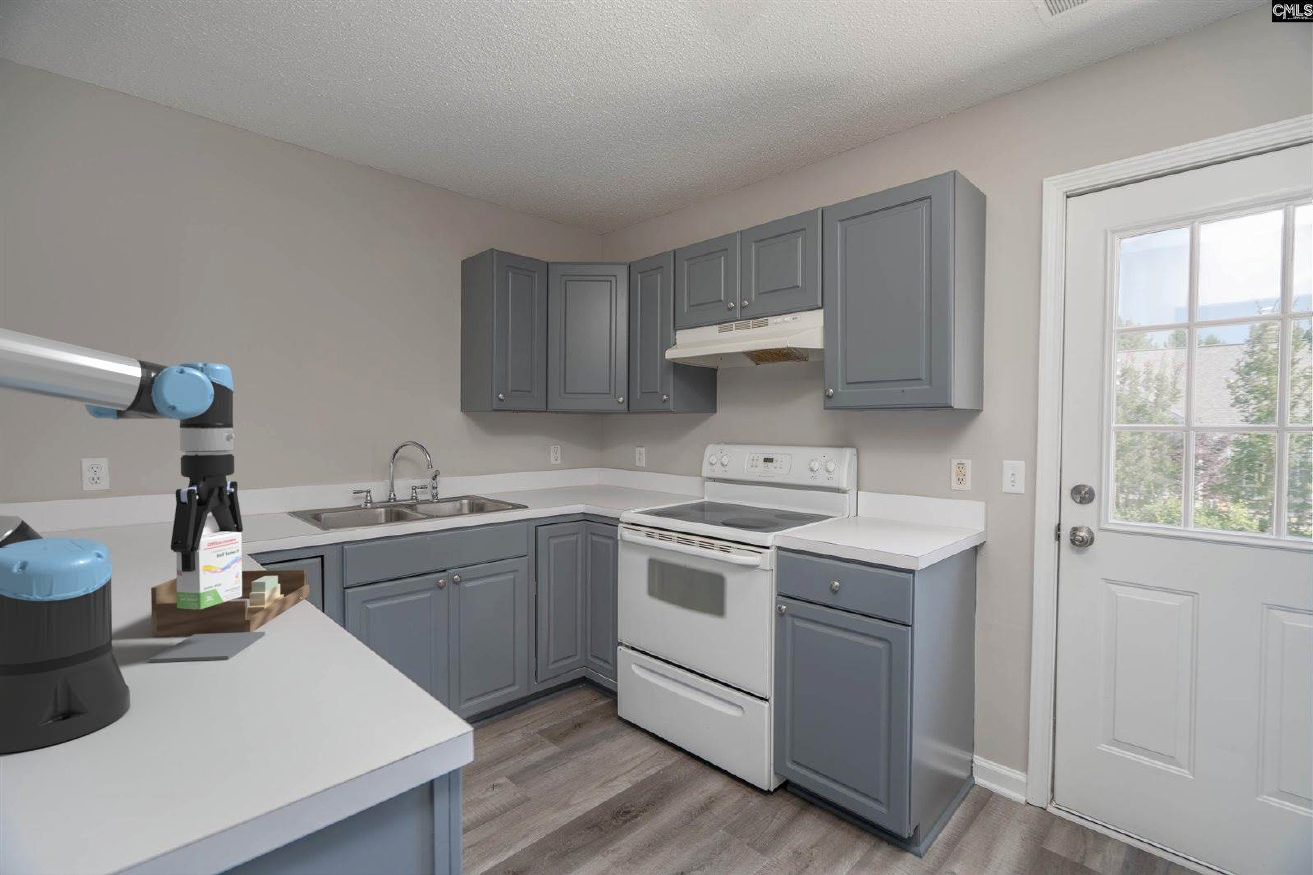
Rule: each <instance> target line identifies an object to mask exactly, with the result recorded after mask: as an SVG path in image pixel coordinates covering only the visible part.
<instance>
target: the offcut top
mask: <svg viewBox="0 0 1313 875" xmlns="http://www.w3.org/2000/svg"><path fill="white" fill-rule="evenodd" d="M277 585H278V576H264V577H262V578H259V579H257V580H255V581H253V582H252V592H266V591H268V590H270V589H272V588H274V587H276V586H277Z"/></svg>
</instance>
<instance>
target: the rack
mask: <svg viewBox="0 0 1313 875" xmlns="http://www.w3.org/2000/svg"><path fill="white" fill-rule="evenodd" d="M306 574H307V570H306V569H305V568H304V569H303V568H301V569H300V568H299V569H267V570H266V569H265V570H263V569H261V570H260V569H259V570H258V569H257V570H242V596H241V597H239V598H238V599H244V600H229V601H226V602H223V603H220V604H217V605H213V606H210V607H207V608H204V609H184V608H177V577H175V578H174V579H170V580H168V581H165V582H163V583H160V584H158V585H155V586H152V587H151V588H150V591H151V595H150V596H151V601H150V603H151V605H150V606H151V637H177V636H178V637H181V636H183V637H184V636H192V635H194V634H214V633H242V632H255V631H256V630H258V629H259V628H261V627H262V626H264V625H266V624H267V623H269V622H270V621H271V620H273V619H275V618H276V617H279V616H280V615H281V614H283V613H285V612H286V611H287V610H290V609H291V608H292V607H294V606H296V605H297V604H299V603H301V602H302V601H303V600H305V599H307V598H308V597H310V594H311V592H310V586H311V585H310V584H307V580H306V579H307V578H306V577H307V576H306ZM264 576H278V584H280V595H282V594H284V598H282V599H280V600H279V601H277V602H275V603H274V604H272V605H270V606H269V607H267V608H265V609H263V610H262V611H260V612H258V613H257V614H255V615H253V616H251V617H250V618H248V599H250V593H251V592H252V582H253V581H255V580H257V579H259V578H262V577H264ZM300 597H301V598H302V599H303V600H302V599H301V598H300ZM246 599H247V600H246Z"/></svg>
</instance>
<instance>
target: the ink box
mask: <svg viewBox="0 0 1313 875" xmlns="http://www.w3.org/2000/svg"><path fill="white" fill-rule="evenodd" d="M205 525H206V526H204V529H203V533H202V536H201V540H200V544H199V547H198V550H202V580H203V589H202V590H195V591H182V561H181V552H175V553H176V578H177V608H184V609H204V608H207V607H210V606H213V605H217V604H220V603H223V602H226V601H233V600H235V599H240V598H239V597H241V596H242V571H243V553H242V552H243V549H242V548H243V547H242V544H243V541H242V540H243V539H242V538H243V531H242V532H224V531H219V526H218V524H217V522H216V520H215V518H214V516H212V515H210V516H209V515H207V518H206V522H205Z"/></svg>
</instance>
